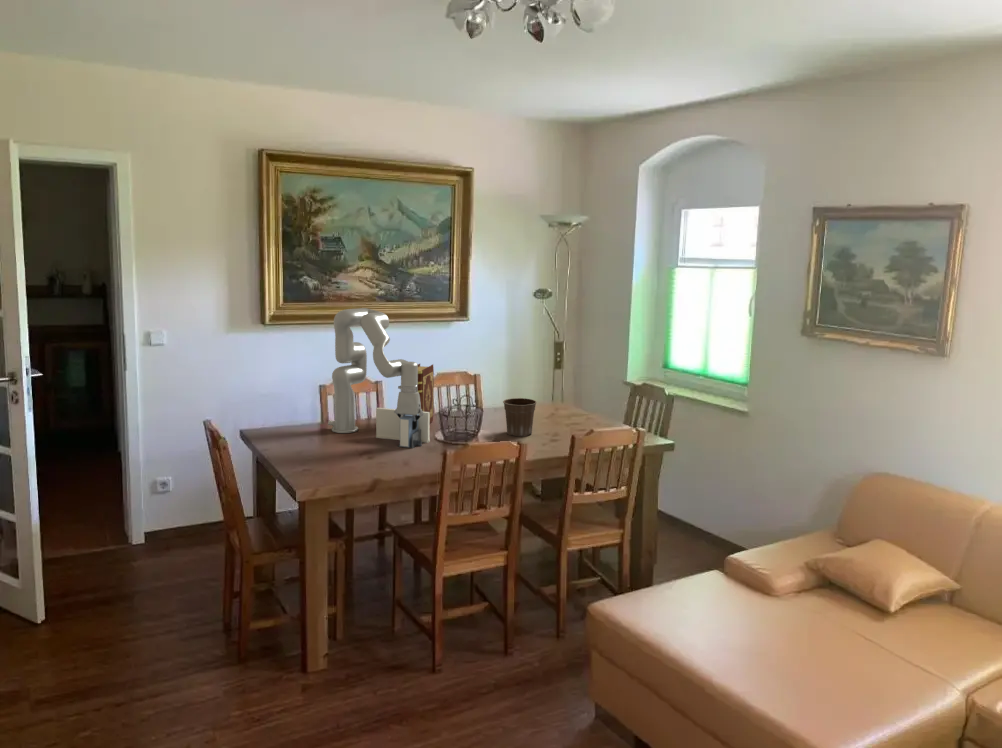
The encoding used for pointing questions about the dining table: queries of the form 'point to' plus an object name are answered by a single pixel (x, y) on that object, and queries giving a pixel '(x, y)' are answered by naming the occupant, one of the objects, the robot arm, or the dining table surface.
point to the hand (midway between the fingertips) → (409, 428)
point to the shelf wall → (398, 425)
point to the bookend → (415, 439)
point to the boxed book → (406, 430)
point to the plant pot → (519, 416)
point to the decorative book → (426, 388)
